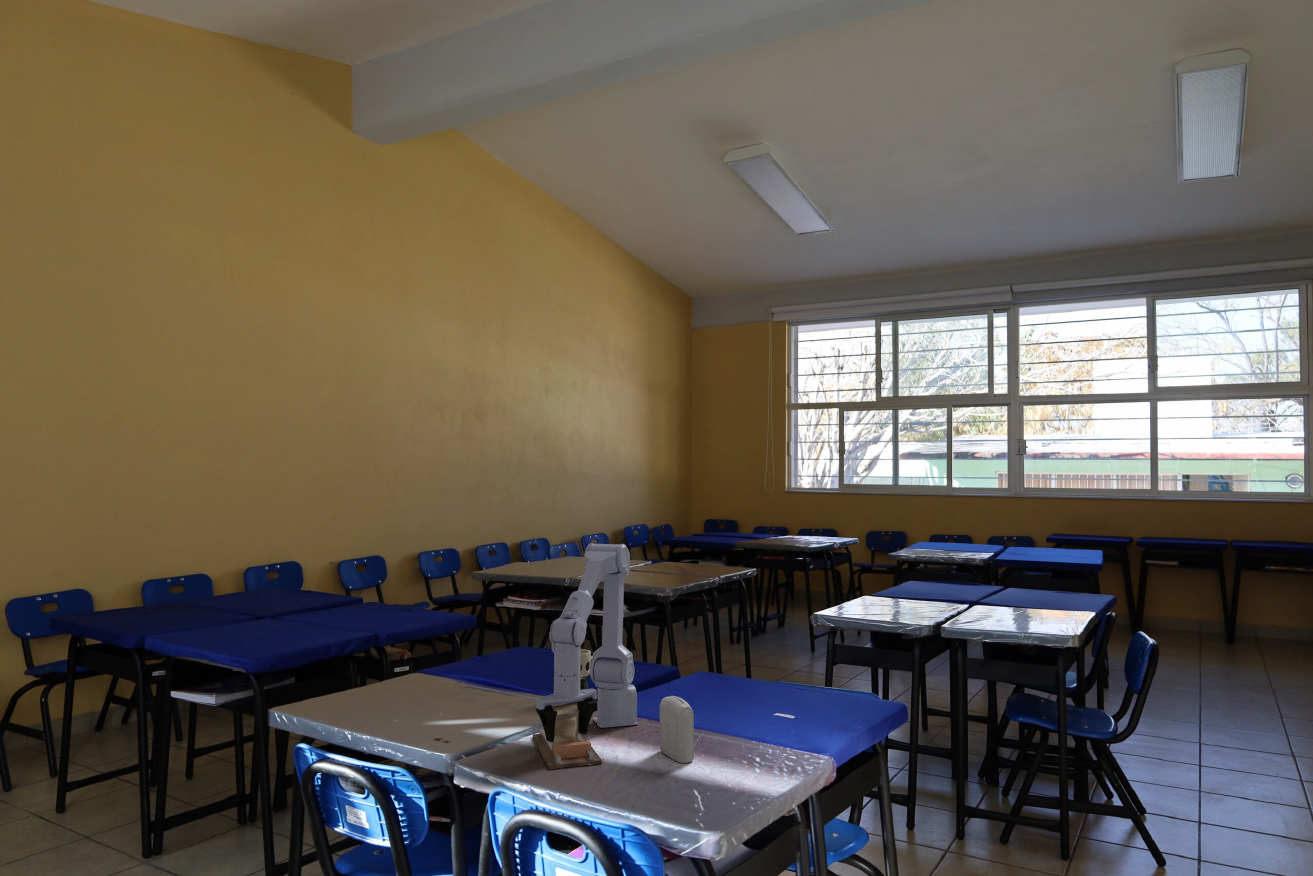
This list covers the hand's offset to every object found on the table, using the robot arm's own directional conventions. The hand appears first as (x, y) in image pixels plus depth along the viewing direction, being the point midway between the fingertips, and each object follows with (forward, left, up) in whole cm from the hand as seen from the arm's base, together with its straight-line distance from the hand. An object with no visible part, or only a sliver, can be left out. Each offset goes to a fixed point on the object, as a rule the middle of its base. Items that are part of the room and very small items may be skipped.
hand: (566, 737), depth 174 cm
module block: (0, 0, -1) cm, 1 cm away
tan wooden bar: (0, +5, -3) cm, 6 cm away
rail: (0, -2, -3) cm, 4 cm away
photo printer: (-22, +9, -3) cm, 24 cm away
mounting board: (0, -2, -3) cm, 4 cm away
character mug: (-11, -42, -3) cm, 44 cm away
